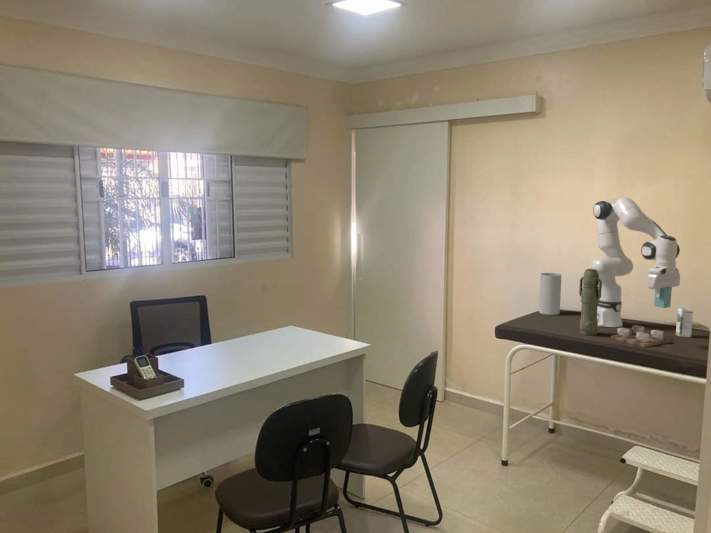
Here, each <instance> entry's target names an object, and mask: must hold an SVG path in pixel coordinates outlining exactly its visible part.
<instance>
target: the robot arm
mask: <svg viewBox="0 0 711 533" xmlns="http://www.w3.org/2000/svg"><path fill="white" fill-rule="evenodd" d="M592 213H593V215H594V218H595V219H596V235H597V241H598V242H597V243H598V248H599V249H600V251H602V252H603V253H604V254H605V256H606V257H601V258H598V259H595V260H593V261H592V263H591V266H590V269H596V270H597V271H598V274H599V279H600V280H601V281H602V290H601V298H600V299H599V302H598V307H597V322H598V327H606V328H607V327H608V328H622V327H623V320H622V312H621V311H622V302H623V301H622V287H621V285H620V284H618V283H617V281H616V277H624V276H626V275H629V274H631V273H632V271H633V269H634V264H633V262H632V260H631V259H630V258H629V257H628V256H626V254H625V252H624V251H623V249H622V246H621V241H620V236H619V235H620V234H619V228H618V223H619V221H620V222H621V224H622V225H623V226H624V227H625V228H627V229H628V230H630V231H635V232H640V233H644V234H646V235H649V236H650V237H651V238H652V239H653V240H649V241H646V242H644V243H643V244H642V245H641V249H640V250H641V251H640V252H641V255H642V257H643V259H645V260H647V261H655V264H654V265H652V266H651V267H649V268H648V270H647V273H648V275H647V281H646V282H647V284H646V285H647V288H648V289H651V290H654V291H655V292H656V297H661V294H660V290H661V288H666V287H672V288H675V287H679V286H680V284H681V275H680V270H679V269H678V267H676V266H677V261H676V259H677V258H678V256H679V255H680V251H681V250H680V248H681V247H680V246H679V244H678V242H677V239H676V237H674V236H671V235H668V234H667V233H666V232H665V231H664V230H663V228H662V227H661V226H660V225H658V223H656V221H654V220H653V219H651V218H650V217H649V216H647V215H646V214H645V212H644V211H643V210H642V209H641V208H640V207H639V205H638V204H637V203H636V202H635V201H634V200H633V199H632V198H630V197H628V196H623V197H620V198H617V199H607V200H600V201H598V202H597V201H596V203H594V206H593V207H592ZM655 292H654V293H655Z"/></svg>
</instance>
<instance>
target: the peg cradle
mask: <svg viewBox="0 0 711 533" xmlns="http://www.w3.org/2000/svg"><path fill="white" fill-rule="evenodd" d="M616 333H617V334H613V335H611V336H610V339H611V340H616V341H618V342H624V343H627V344H631V345H635V346H638V347H642V348H648V347H652V346H657V345H658V346H659V345H663V344H669V343H670V339H667V338H664V333H665V332H664V331H663V330H659V329H651V331H650V334H649V333H647V332H645V326H643V325H632V327H631V330H630V328H627V327H617V332H616Z"/></svg>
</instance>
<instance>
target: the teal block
mask: <svg viewBox="0 0 711 533" xmlns="http://www.w3.org/2000/svg"><path fill="white" fill-rule="evenodd" d="M672 291H673V287H666V288H661V290H660V294H661V297H656V292H654V304H653V307H657V308H662V309H667V308H671V304H672V302H671V300H672Z"/></svg>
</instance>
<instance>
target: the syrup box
mask: <svg viewBox="0 0 711 533" xmlns="http://www.w3.org/2000/svg"><path fill="white" fill-rule="evenodd" d="M676 314H677V315H676V316H677V317H676V324H675V326H676V329H675V335H676V336H678V337H679V338H692V330H693V319H694V318H693V317H694V316H693V315H694V310H692V309H690V308H685V307H679V308H677V313H676Z"/></svg>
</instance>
